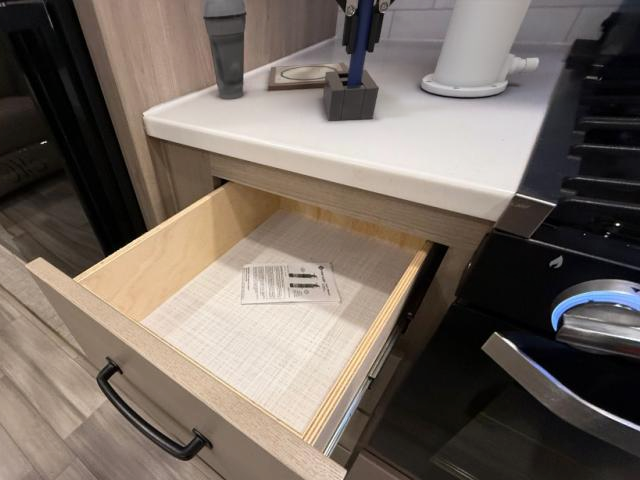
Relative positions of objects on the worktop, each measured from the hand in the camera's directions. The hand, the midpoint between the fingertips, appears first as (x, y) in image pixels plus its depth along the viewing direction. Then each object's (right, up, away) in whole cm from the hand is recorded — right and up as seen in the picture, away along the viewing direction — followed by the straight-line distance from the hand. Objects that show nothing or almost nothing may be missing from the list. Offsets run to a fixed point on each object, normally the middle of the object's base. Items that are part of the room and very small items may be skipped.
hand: (359, 50), depth 45 cm
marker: (+1, -5, +5) cm, 8 cm away
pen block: (0, -4, +7) cm, 8 cm away
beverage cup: (-18, +4, +17) cm, 25 cm away
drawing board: (-2, +11, +22) cm, 25 cm away
